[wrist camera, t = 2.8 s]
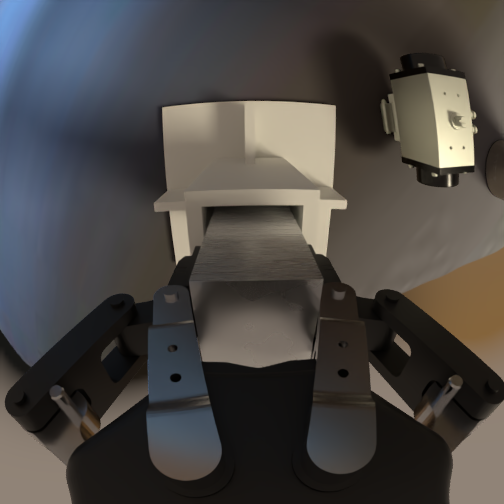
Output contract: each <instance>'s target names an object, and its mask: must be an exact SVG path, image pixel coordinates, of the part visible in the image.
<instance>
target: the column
mask: <svg viewBox="0 0 504 504" xmlns="http://www.w3.org/2000/svg"><path fill="white" fill-rule="evenodd" d="M189 286H190V292H191V299H192V305H193V311H194V317H195V323H196V328H197V334H198V339H199V344H200V350H201V355H202V360H203V362H229V363H234V364H239V365H244V366H249V367H255V368H261V367H266V366H270V365H274V364H278V363H282V362H286V361H290V360H304V359H310V355H311V350H312V345H313V340H314V334H315V329H316V323H317V318H318V312H319V306H320V299H321V293H322V286H323V277H322V274H321V272H320V270H319V268H318V266H317V263H316V261H315V259H314V257H313V255H312V253H311V251H310V249H309V246H308V244H307V242H306V240H305V238H304V236H303V234H302V232H301V230H300V228H299V226H298V224H297V222H296V220H295V218H294V216H293V214H292V212H291V210H290V208H289V206H288V205H245V206H216V207H215V209H214V212H213V215H212V217H211V220H210V223H209V225H208V228H207V231H206V234H205V236H204V239H203V242H202V245H201V247H200V250H199V253H198V256H197V259H196V262H195V265H194V267H193V270H192V273H191V276H190V279H189Z"/></svg>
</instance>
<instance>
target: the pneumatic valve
mask: <svg viewBox="0 0 504 504" xmlns="http://www.w3.org/2000/svg"><path fill="white" fill-rule="evenodd" d="M400 61H401V65H402V69H403V71H401V70H400V69H396V70H395V73H393V74H389V76H390V80H391V85H392V90H393V94H388V98H389V103H386V100H385V99H382V101H381V104H380V108H381V114H382V120H383V127H384V131H385V132H386V134H391V132H394V138H395V141H400V144H401V154H402V162H403V163H406V164H409V168H414V166H415V167H416V171H417V181H418V182H420V183H422V184H425V185H429V186H434V187H454V186H457V185H458V183H459V173H464V174H466V173H469V172H474V141H473V134H476V133H477V131H478V130H477V127H476V126H475V125H472V119H475V118H476V113H475V112H474V111H473V110H471V109H470V102H469V96H468V90H467V84H466V79H465V74H464V73H463V72H459V71H456V70H455V69H450V70H449V69H447V67H446V63H445V59H444V57H442V56H440V55H436V54H429V53H414V54H407V55H403V56H401V57H400Z"/></svg>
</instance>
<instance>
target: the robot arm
mask: <svg viewBox="0 0 504 504" xmlns="http://www.w3.org/2000/svg"><path fill="white" fill-rule="evenodd" d="M486 178H487V184H488V187H489V189H490V191H491V193H492V194H493V195H494V196H496V197H498V198H500V199H502V200H504V141H503V140H499V141H496V142H495V143H494V144H493V145H492V147H491V149H490V151H489V153H488V157H487V163H486ZM308 246H309V249H310V251H311V253H312V255H313V257H314V259H315V261H316V263H317V266H318V268H319V270H320V272H321V274H322V277H323V286H322V293H321V299H320V306H319V312H318V318H317V323H316V329H315V334H314V340H313V345H312V350H311V356H310V359H304V360H290V361H286V362H282V363H278V364H274V365H270V366H266V367H261V368H255V367H249V366H244V365H239V364H234V363H229V362H202V361H201V357H200V353H199V347H198V342H197V337H198V334H197V328H196V323H195V317H194V311H193V305H192V299H191V292H190V286H189V279H190V276H191V273H192V270H193V267H194V265H195V262H196V259H197V256H198V253H199V250H200V247H201V246H195V249H194V251H193V254H192V256H184V257H183V258H182V259H181V260H179V261H178V263H177V266H176V268H175V270H174V273H173V275H172V277H171V279H170V281H169V284H168V286H165V287H162V288H160V289H159V290H157V291H156V293H155V294H154V299H153V300H152V301H148V302H142V303H137V304H135V302H134V299H133V297H132V296H131V295H128V294H116V295H113V296H111V297H109V298H107V299H106V300H105V301H104V302H102V303H101V304H100V305H99V306H98V307H97V308H95V309H94V310H93V311H92V312H91V313H90V314H88V315H87V316H86V317H85V318H84V319H83V320H82V321H81V322H79V323H78V324H77V325H76V326H75V327H74V328H73V329H72V330H71V331H69V332H68V333H67V334H66V335H65V336H64V337H63V338H62V339H61V340H60V341H59V342H57V343H56V344H55V345H54V346H53V347H52V348H51V349H50V350H49V351H48V352H47V353H46V354H45V355H44V356H43V357H42V358H41V359H40V360H38V361H37V362H36V363H35V364H34V365H33V366H32V367H31V368H30V369H29V370H28V371H27V372H26V373H25V374H24V375H23V376H22V377H21V378H20V379H19V381H17V382H16V383H15V384H14V386H13V387H12V388H11V389H10V390H9V391H8V393H7V395H6V398H5V407H6V409H7V411H8V413H9V414H11V416H12V417H13V418H14V419H15V420H16V421H17V422H18V423H19V424H20V425H21V426H22V428H23V429H24V430H25V431H26V432H27V433H28V434H29V435H31V436H32V437H33V438H34V439H35V440H36V441H37V442H39V443H40V444H41V445H42V446H44V447H46V448H47V449H48V450H49V451H51V452H52V453H53V454H54V455H55V456H56V457H57V458H59V459H60V460H61V461H62V462H63V463H64V464H65V465H66V466H67V469H66V478H67V484H68V487H69V491H70V495H71V500H72V504H449V487H450V479H451V474H452V468H453V459H452V454H451V453H452V451H454V450H455V449H456V447H457V446H458V445H459V444H460V443H461V442H462V441H463V440H464V439H466V438H467V437H468V436H469V435H470V434H471V433H472V432H473V431H474V430H475V429H476V428H478V426H480V425H481V424H482V423H483V421H484V420H486V419H487V417H489V415H490V414H491V413H492V412H493V411H494V410H495V409H496V408H497V407H498V406H499V405H500V404H501V402H502V401H503V400H504V382H503V380H502V379H501V378H500V377H499V376H498V375H497V374H496V373H495V372H494V371H493V370H492V369H491V368H490V367H488V366H487V365H486V364H485V363H484V362H483V361H482V360H481V359H480V358H479V357H478V356H476V355H475V354H474V353H473V352H472V351H471V350H470V349H468V348H467V347H466V346H465V345H464V344H463V343H462V342H460V341H459V340H458V339H457V338H456V337H455V336H453V335H452V334H451V333H450V332H449V331H447V330H446V329H445V328H444V327H443V326H441V325H440V324H439V323H438V322H437V321H435V320H434V319H433V318H432V317H430V316H429V315H428V314H427V313H425V312H424V311H423V310H422V309H420V308H419V307H418V306H417V305H415V304H414V303H413V302H412V301H410V300H409V299H407V298H406V297H405V296H404V295H402V294H401V293H399V292H397V291H394V290H389V289H385V290H380V291H378V292H377V293H376V296H375V299H368V298H361V297H357V296H356V293H355V290H354V289H353V288H352V287H351V286H349V285H347V284H344V283H341V281H340V279H339V277H338V275H337V273H336V271H335V270H334V268H333V266H332V264H331V262H330V261H329V259H328V258H327V257H325V256H324V255H322V254H316V253H315V251H314V249H313V247H312V245H311V244H308ZM396 334H398V335H399V336H400V337H401V338H402V339H403V340H404V341H405V342H407V343H408V345H409V346H410V348H411V356H408V355H407V354H406V353H405V352H404V351H403V350H402V349H401V348H400V347H399V346H398V345H397V344H396V343H395V342H394V339H395V337H396ZM113 340H115V343H116V345H117V346H116V347H115V348H114V349H113V350H112V351H111V352H110V353H109V354H108V355H107V356H106V358H105V359H104V360H103V361H102V362H101V354H102V352H103V350H104V349H105V348H106V347H107V346H108V345H109V344H110V343H111V342H112V341H113ZM147 359H148V388H149V394H148V395H147V396H146V397H144V398H143V399H142V400H141V401H139V402H138V403H137V404H135V405H134V406H133V407H131V408H130V409H129V410H127V411H126V412H125V413H123V414H122V415H121V416H119V417H118V418H117V419H115V420H114V421H113V422H111V423H110V424H109V425H107V426H106V427H104V428H103V429H102V430H100V426H101V422H100V419H101V417H102V416H103V415H104V413H105V412H106V411H107V410H108V408H109V407H110V406H111V405H112V403H113V402H114V401H115V400H116V398H117V397H118V396H119V394H120V393H121V392H122V390H123V389H124V388H125V387H126V386H127V384H128V383H129V382H130V380H131V379H132V378H133V377H134V376H135V374H136V373H137V372H138V371H139V369H140V368H141V367H142V366H143V364H144V363H145V362H146V361H147ZM369 362H370V363H371V364H372V365H373V367H374V368H375V369H376V370H377V371H378V372H379V373H380V374H381V375H382V377H383V378H384V379H385V380H386V381H387V382H388V383H389V384H390V386H391V387H392V388H393V389H394V390H395V391H396V392H397V393H398V395H399V396H400V397H401V398H402V399H403V400H404V401H405V402H406V404H407V405H408V406H409V407H410V408H411V409H412V410H413V411H414V418H412V417H411V416H409V415H407V414H406V413H404V412H403V411H401V410H400V409H398V408H397V407H395V406H394V405H392V404H390V403H389V402H387V401H386V400H385V399H383V398H382V397H380V396H379V395H377V394H376V393H374V392H373V391H371V387H370V372H369ZM99 430H100V431H99Z"/></svg>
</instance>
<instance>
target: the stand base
mask: <svg viewBox="0 0 504 504" xmlns="http://www.w3.org/2000/svg"><path fill="white" fill-rule="evenodd" d="M162 116H163V140H164V156H165V170H166V182H167V192H166V193H164V194H163V195H162V196H161V197H160V198H159V199H158V200H157V201H155V202H154V209H155V212H160V211H169V212H170V221H171V229H172V237H173V244H174V251H175V258H176V265H177V263H178V261H179V260H181V259H182V258H183V257H184V256H192V254H193V251H194V249H195V246H201V245H202V242H203V239H204V236H205V234H206V231H207V228H208V225H209V223H210V220H211V217H212V215H213V212H214V209H215V207H216V206H245V205H288V206H289V208H290V210H291V212H292V214H293V216H294V218H295V220H296V222H297V224H298V226H299V228H300V230H301V232H302V234H303V236H304V238H305V240H306V242H307V244H311V245H312V247H313V249H314V251H315V253H316V254H322V255H324V256H325V257H326V251H327V242H328V233H329V223H330V213H331V209H346V206H347V200H346V199H345V198H344V197H342V196H341V195H340V194H339V193H337V192H336V191H335V190H333V174H334V155H335V126H336V106H335V105H325V104H314V103H301V102H281V101H232V102H212V103H198V104H187V105H178V106H170V107H162Z"/></svg>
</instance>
